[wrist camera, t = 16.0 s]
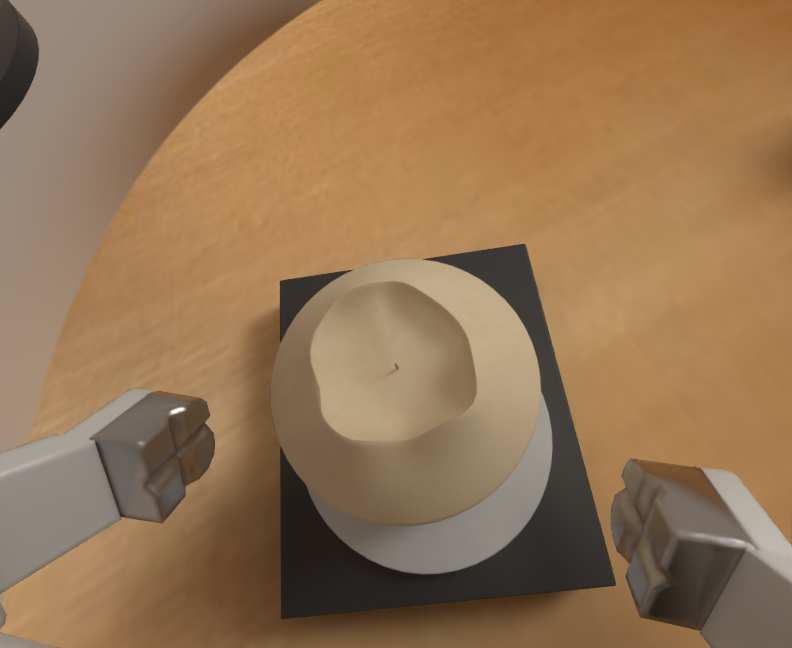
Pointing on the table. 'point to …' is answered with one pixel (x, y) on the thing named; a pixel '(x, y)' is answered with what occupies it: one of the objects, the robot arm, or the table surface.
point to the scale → (467, 532)
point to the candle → (405, 392)
